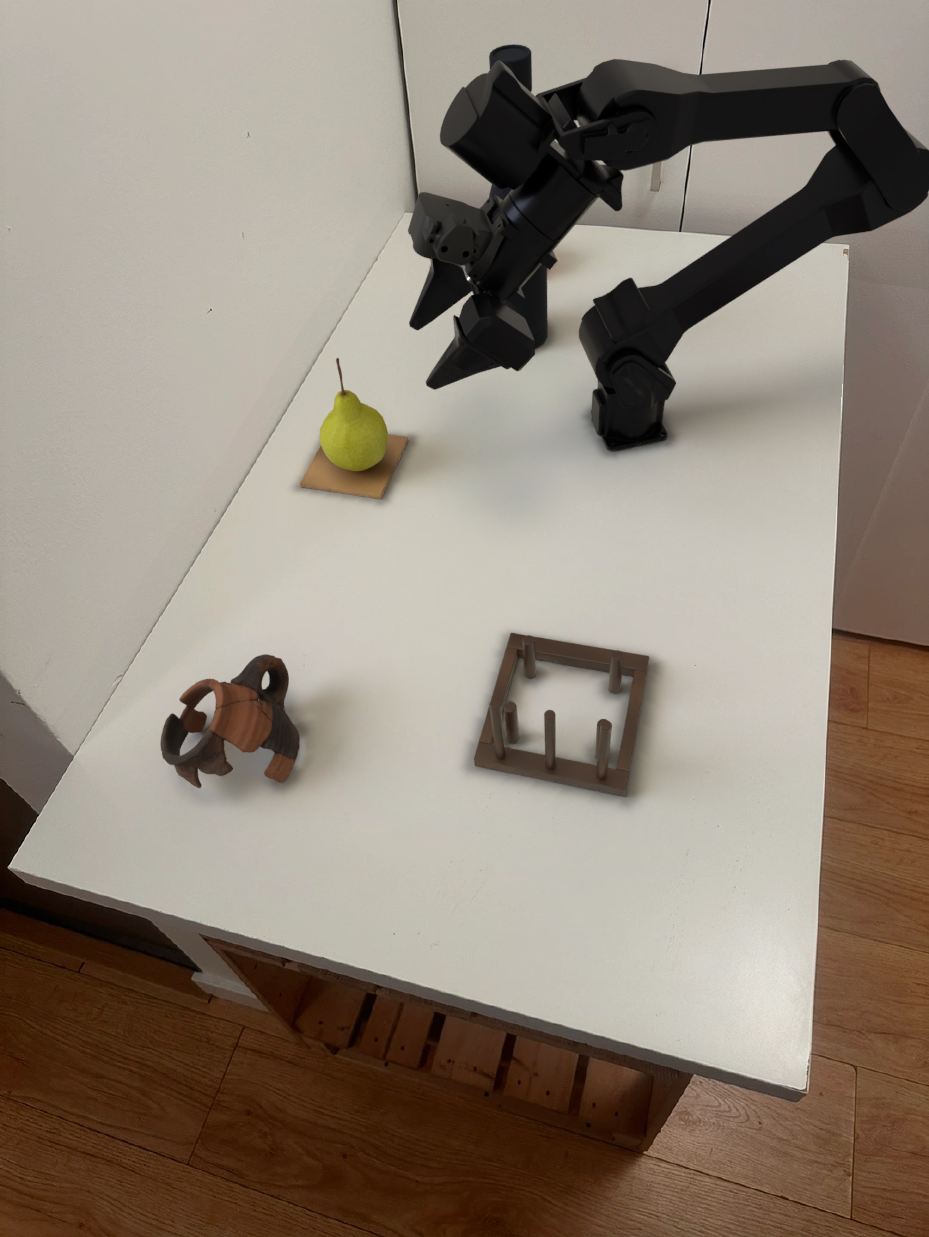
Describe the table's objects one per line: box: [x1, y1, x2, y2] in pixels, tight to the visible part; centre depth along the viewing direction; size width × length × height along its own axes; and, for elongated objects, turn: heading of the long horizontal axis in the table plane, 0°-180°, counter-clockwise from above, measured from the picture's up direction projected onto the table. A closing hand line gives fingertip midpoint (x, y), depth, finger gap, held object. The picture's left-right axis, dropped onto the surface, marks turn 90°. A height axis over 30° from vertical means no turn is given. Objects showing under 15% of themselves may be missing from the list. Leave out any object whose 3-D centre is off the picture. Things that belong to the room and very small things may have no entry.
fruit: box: [319, 357, 389, 471], centre depth 86 cm, size 7×7×12 cm
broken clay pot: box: [160, 653, 301, 789], centre depth 70 cm, size 12×10×8 cm
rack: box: [473, 632, 650, 798], centre depth 68 cm, size 13×12×9 cm
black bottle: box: [488, 44, 549, 349], centre depth 90 cm, size 6×6×30 cm
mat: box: [299, 433, 410, 500], centre depth 91 cm, size 9×9×1 cm
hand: (421, 356), depth 80 cm, fingers open, 9 cm apart
